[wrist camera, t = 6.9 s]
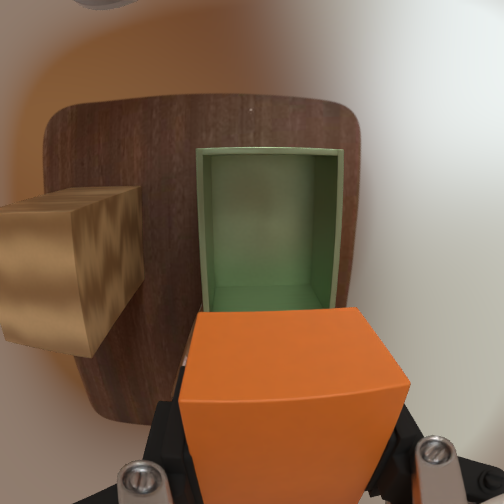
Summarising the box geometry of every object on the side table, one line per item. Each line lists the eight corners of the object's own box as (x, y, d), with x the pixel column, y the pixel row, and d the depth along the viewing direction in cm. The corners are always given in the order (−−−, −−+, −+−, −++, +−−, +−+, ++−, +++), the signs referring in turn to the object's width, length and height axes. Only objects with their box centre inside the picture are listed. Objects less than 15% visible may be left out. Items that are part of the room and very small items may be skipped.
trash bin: (211, 289, 41) (204, 326, 31) (206, 150, 36) (195, 148, 26) (313, 286, 41) (333, 321, 32) (318, 150, 36) (344, 149, 27)
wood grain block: (72, 187, 36) (-21, 213, 19) (141, 185, 36) (70, 211, 19) (78, 274, 39) (5, 341, 22) (144, 279, 40) (91, 358, 23)
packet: (197, 311, 10) (177, 400, 6) (356, 306, 10) (412, 382, 6) (213, 452, 12) (209, 529, 8) (329, 445, 12) (350, 517, 8)
